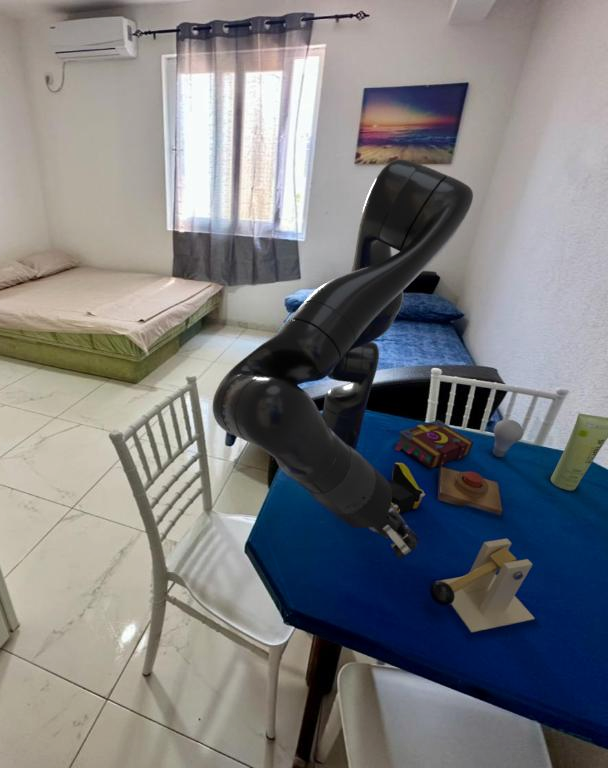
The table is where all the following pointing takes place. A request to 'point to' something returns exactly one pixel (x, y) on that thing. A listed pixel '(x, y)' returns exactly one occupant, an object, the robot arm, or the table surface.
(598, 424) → the tube
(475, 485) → the button
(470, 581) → the wooden lever handle
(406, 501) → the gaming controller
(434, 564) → the table surface
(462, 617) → the wooden lever stand
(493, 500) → the button block
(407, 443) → the decorative book
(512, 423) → the lightbulb
